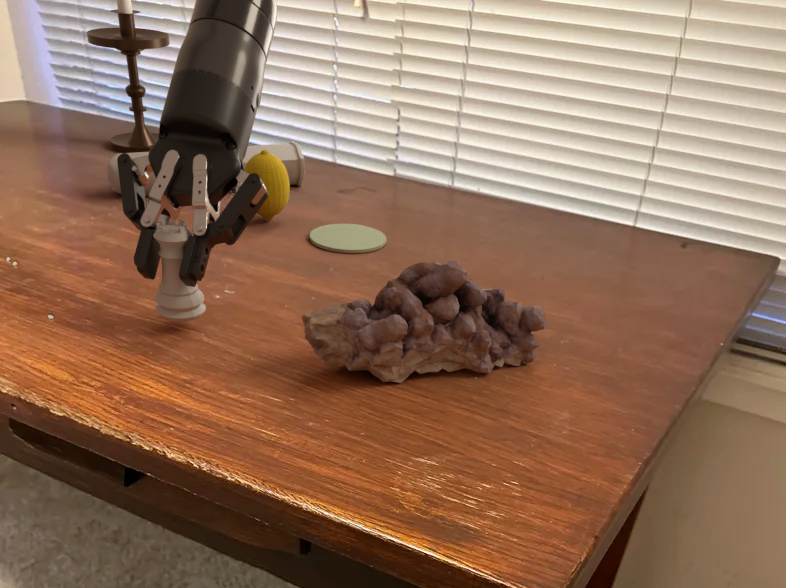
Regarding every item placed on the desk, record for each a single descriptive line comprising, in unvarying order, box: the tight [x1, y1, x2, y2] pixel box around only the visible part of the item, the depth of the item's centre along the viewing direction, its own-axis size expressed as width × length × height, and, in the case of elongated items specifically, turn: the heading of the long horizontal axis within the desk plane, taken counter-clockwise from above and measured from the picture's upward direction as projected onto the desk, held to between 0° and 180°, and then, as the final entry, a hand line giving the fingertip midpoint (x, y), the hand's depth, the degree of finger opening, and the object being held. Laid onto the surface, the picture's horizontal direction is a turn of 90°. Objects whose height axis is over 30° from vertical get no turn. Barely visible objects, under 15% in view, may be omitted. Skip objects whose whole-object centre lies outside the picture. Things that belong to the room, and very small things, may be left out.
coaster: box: [309, 223, 387, 254], centre depth 95 cm, size 9×9×1 cm
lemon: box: [244, 150, 291, 222], centre depth 96 cm, size 6×6×8 cm
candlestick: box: [86, 0, 171, 153], centre depth 110 cm, size 11×11×35 cm
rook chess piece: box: [153, 219, 207, 323], centre depth 72 cm, size 4×4×8 cm
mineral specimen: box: [301, 260, 548, 384], centre depth 69 cm, size 20×10×10 cm
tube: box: [106, 140, 305, 197], centre depth 106 cm, size 5×5×25 cm
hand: (166, 278), depth 70 cm, fingers closed on rook chess piece, 3 cm apart
